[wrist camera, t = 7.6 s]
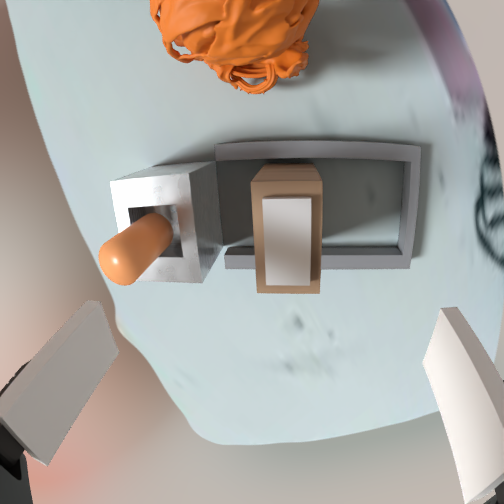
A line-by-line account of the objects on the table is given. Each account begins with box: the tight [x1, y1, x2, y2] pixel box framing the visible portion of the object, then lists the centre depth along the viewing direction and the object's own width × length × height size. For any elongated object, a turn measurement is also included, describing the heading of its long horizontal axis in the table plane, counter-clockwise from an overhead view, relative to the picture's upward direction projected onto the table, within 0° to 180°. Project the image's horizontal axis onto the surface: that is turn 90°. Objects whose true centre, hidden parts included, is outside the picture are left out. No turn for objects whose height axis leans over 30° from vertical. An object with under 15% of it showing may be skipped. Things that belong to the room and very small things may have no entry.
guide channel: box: [214, 140, 421, 269], centre depth 28 cm, size 12×19×2 cm, turn 93°
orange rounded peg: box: [99, 213, 173, 285], centre depth 21 cm, size 3×3×6 cm
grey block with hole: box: [110, 161, 223, 283], centre depth 27 cm, size 9×7×8 cm
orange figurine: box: [150, 0, 319, 94], centre depth 15 cm, size 11×11×18 cm
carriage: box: [251, 163, 323, 294], centre depth 24 cm, size 8×4×11 cm, turn 3°
